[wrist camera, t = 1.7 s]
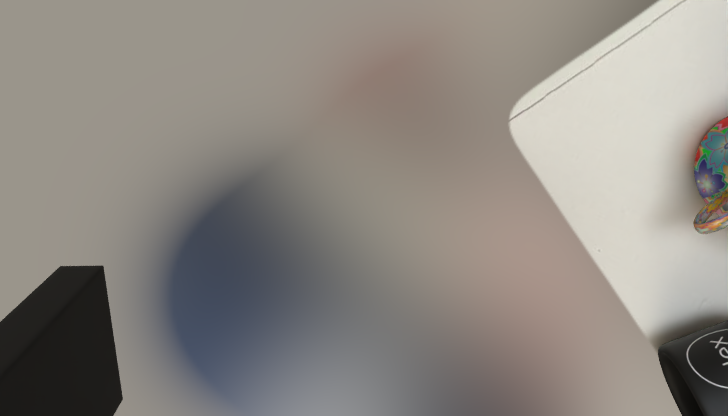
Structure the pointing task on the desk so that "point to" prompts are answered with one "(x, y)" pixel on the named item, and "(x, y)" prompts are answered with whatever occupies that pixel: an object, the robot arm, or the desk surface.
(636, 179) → the desk surface
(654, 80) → the desk surface
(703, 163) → the mug
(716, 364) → the mug
